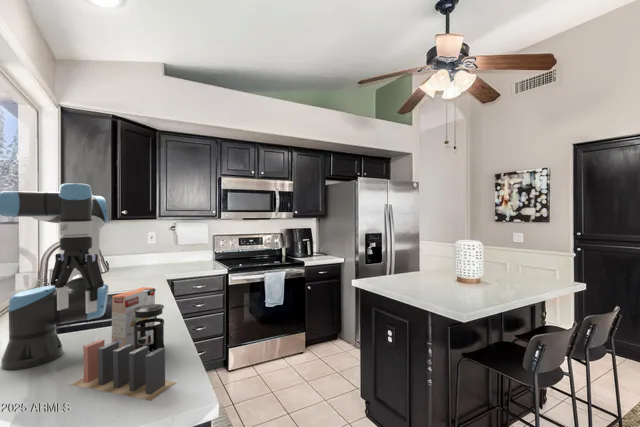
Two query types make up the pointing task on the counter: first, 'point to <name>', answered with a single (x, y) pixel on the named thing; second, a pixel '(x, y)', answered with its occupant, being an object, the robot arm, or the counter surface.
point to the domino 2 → (121, 365)
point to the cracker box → (129, 315)
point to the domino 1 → (106, 362)
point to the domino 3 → (137, 368)
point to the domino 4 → (155, 370)
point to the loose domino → (91, 360)
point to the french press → (158, 330)
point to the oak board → (124, 389)
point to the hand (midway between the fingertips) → (76, 310)
